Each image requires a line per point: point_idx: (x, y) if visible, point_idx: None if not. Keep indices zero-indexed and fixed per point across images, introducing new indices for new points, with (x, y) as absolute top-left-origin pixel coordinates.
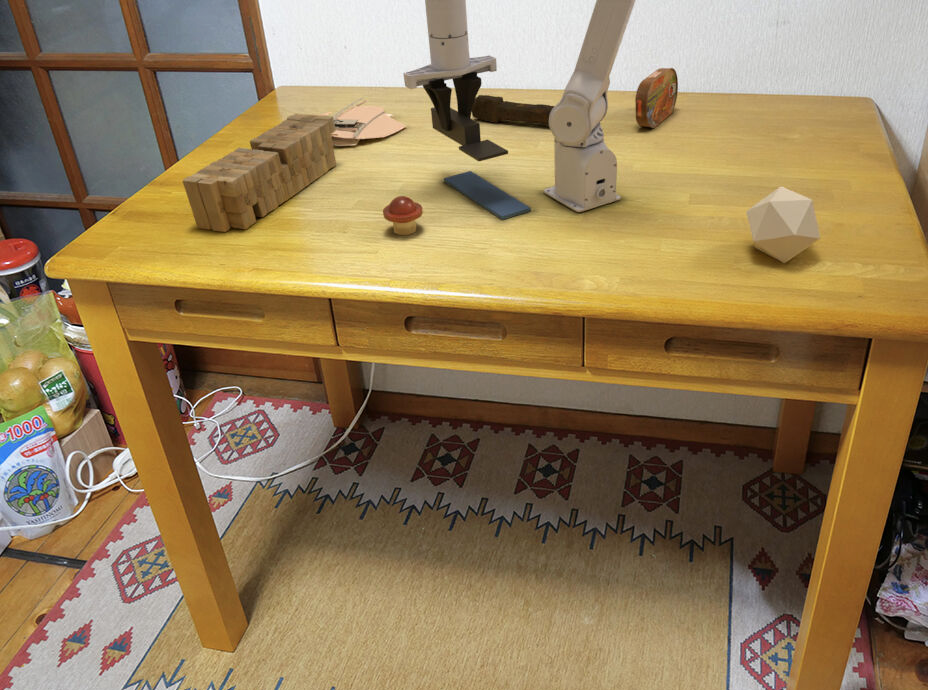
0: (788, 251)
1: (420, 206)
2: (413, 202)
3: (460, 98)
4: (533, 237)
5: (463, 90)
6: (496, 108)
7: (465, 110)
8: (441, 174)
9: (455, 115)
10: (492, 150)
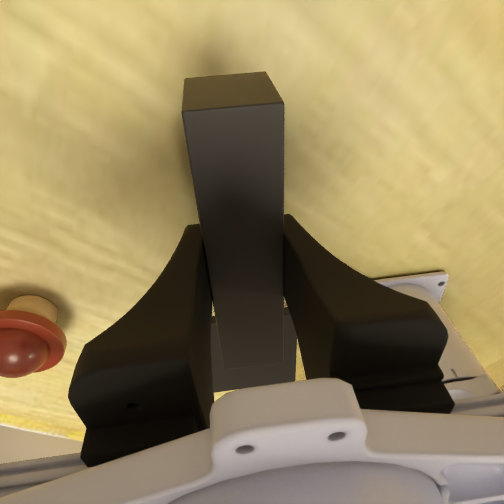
0: None
1: (60, 349)
2: (40, 365)
3: (302, 305)
4: None
5: (312, 372)
6: None
7: (290, 304)
8: (199, 54)
9: (249, 273)
10: (264, 371)
